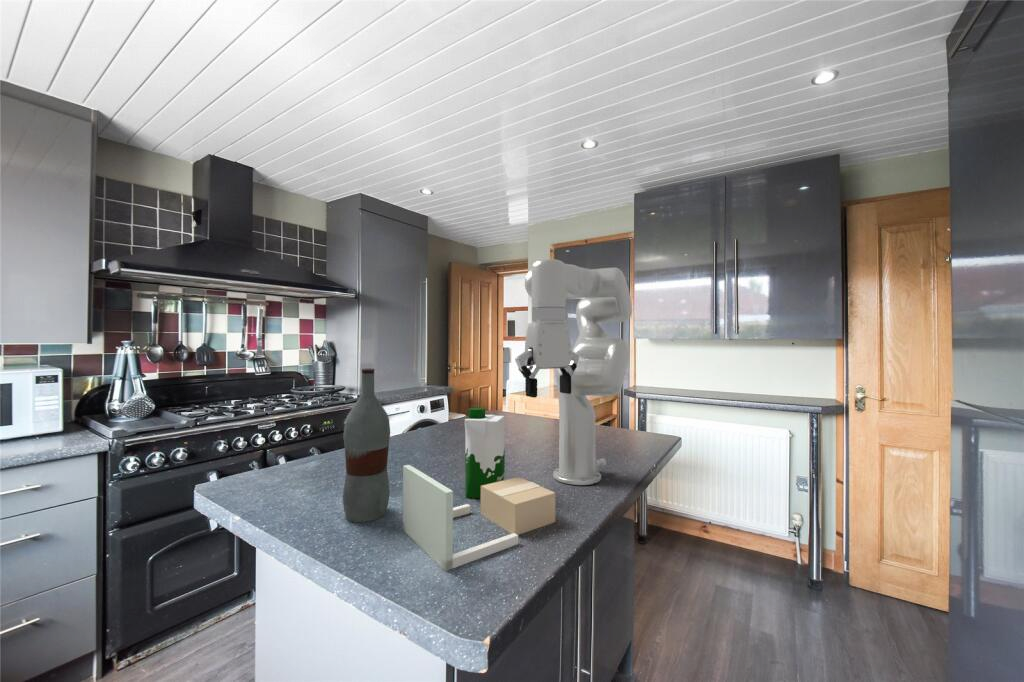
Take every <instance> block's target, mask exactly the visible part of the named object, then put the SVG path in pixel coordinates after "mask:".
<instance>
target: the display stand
mask: <svg viewBox="0 0 1024 682" xmlns="http://www.w3.org/2000/svg"><path fill="white" fill-rule="evenodd" d="M469 514H471V505H470V504H469V503H465V504H462V505H459V506H454V491H453V490H452V489H450V488H449V487H447V486H445V485H444V484H442V483H440V482H439V481H437V480H435V479H434V478H432V477H430V476H429V475H427V474H425V473H424V472H423V471H421V470H419V469H417V468H415V467H413V466H412V465H411V464H405V465H403V467H402V530H403V531H404V533H406V535H408V536H409V537H410V538H411V539H412V540H413V541H414V542H415V543H416V545H418V546H419V547H420V548H421V549H422V551H424V552H425V553H426V554H427V555H428V556H430V558H431V559H432V560H433V561H434V562H435V563H436V564H438V565H439V567H441V568H442V570H444V571H445V572H448V571H450V570H453V569H455V568H458V567H460V566H463V565H466V564H468V563H471V562H473V561H476V560H479V559H482V558H484V557H487V556H490V555H493V554H495V553H498V552H501V551H503V550H505V549H509V548H511V547H514V546H517V545H519V535H517V534H515V533H512V534H511V533H509V534H507V535H503V536H502V537H498V538H496V539H493V540H489V541H487V542H484V543H481V544H479V545H476V546H472V547H470V548H467V549H463V550H461V551H458V552H456V553H453V551H454V544H453V541H454V537H453V536H454V523H453V522H454V518H458V517H462V516H464V515H469Z"/></svg>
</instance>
